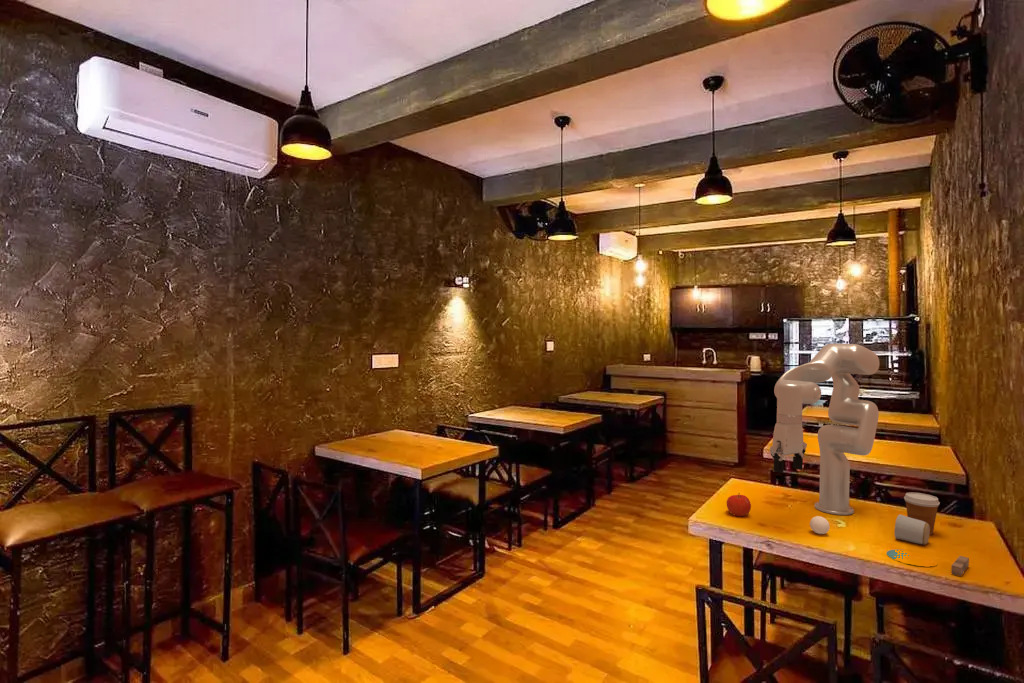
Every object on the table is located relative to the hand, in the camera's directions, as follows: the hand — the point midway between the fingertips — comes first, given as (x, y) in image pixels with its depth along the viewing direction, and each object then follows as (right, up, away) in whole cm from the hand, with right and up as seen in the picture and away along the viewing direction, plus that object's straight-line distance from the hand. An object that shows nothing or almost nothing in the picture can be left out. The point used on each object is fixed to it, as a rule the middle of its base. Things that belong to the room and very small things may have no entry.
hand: (788, 470), depth 181 cm
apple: (-11, -20, +14) cm, 27 cm away
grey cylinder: (+35, -21, -8) cm, 42 cm away
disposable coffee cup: (+44, -20, -1) cm, 48 cm away
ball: (+9, -17, -3) cm, 19 cm away
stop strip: (+33, -21, -30) cm, 49 cm away
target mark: (+25, -21, -22) cm, 39 cm away
